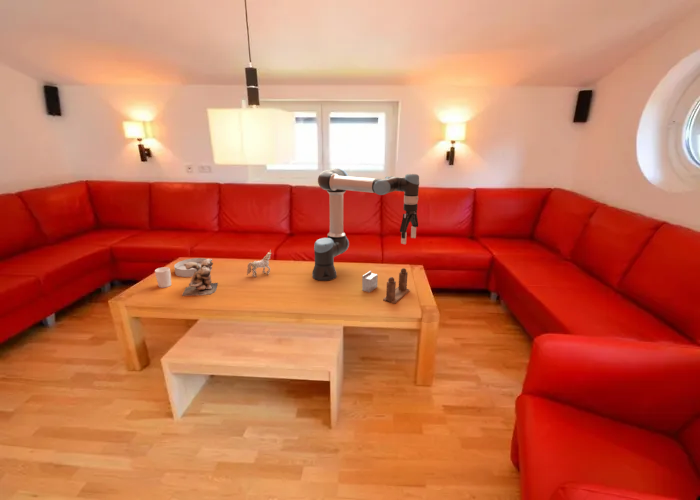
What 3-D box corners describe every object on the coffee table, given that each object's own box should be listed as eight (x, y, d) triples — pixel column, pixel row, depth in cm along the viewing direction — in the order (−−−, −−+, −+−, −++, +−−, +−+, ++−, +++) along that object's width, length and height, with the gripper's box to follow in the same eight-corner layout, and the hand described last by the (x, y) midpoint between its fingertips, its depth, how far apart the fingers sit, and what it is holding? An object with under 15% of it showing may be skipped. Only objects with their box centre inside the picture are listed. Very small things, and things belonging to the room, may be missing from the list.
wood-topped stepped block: (362, 290, 205) (362, 275, 202) (369, 285, 212) (370, 270, 209) (369, 292, 202) (370, 277, 200) (377, 287, 210) (377, 272, 207)
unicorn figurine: (278, 271, 232) (277, 252, 228) (252, 280, 218) (251, 259, 214) (272, 268, 236) (270, 249, 232) (246, 277, 223) (244, 256, 218)
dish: (217, 271, 233) (216, 264, 231) (182, 280, 218) (181, 272, 217) (203, 262, 248) (202, 255, 246) (170, 270, 234) (168, 263, 232)
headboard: (383, 300, 193) (384, 277, 189) (398, 288, 208) (399, 266, 204) (395, 303, 189) (396, 279, 185) (409, 290, 205) (410, 268, 200)
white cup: (167, 281, 215) (164, 266, 212) (175, 284, 211) (172, 268, 208) (154, 286, 209) (151, 270, 206) (162, 289, 205) (160, 273, 202)
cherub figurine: (180, 297, 195) (175, 266, 190) (187, 284, 212) (183, 255, 206) (214, 294, 199) (211, 264, 193) (219, 281, 216) (215, 253, 210)
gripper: (407, 207, 183) (405, 247, 190) (425, 200, 203) (423, 236, 210) (394, 206, 187) (392, 245, 194) (413, 199, 207) (411, 234, 214)
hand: (408, 240), depth 202 cm, fingers open, 13 cm apart
